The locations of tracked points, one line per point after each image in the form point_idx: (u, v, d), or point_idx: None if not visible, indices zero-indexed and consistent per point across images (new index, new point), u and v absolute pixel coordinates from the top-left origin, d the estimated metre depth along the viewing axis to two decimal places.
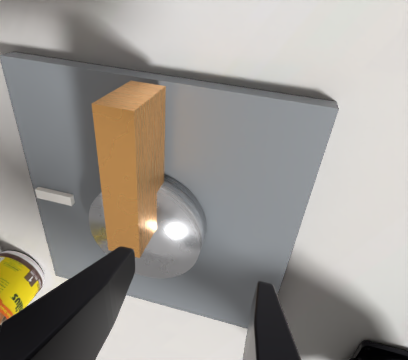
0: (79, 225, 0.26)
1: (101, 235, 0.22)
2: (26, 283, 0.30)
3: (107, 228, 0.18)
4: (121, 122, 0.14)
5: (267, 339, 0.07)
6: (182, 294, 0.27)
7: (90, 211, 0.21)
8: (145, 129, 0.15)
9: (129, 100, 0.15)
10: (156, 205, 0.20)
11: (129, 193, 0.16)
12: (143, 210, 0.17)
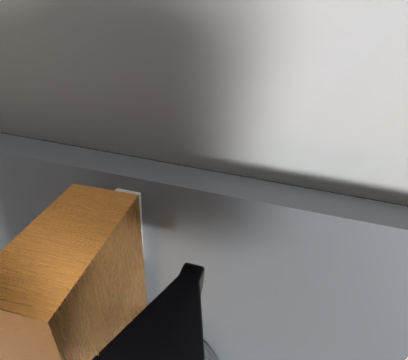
0: None
1: None
2: None
3: None
4: (24, 335, 0.06)
5: (175, 313, 0.07)
6: None
7: None
8: (94, 311, 0.07)
9: (50, 265, 0.07)
10: None
11: None
12: None
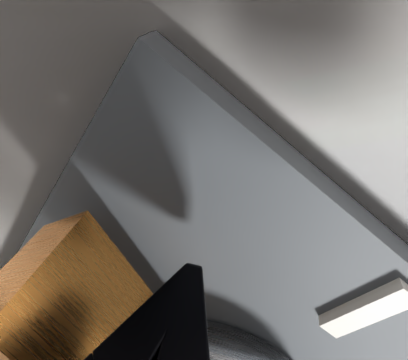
0: None
1: None
2: None
3: None
4: None
5: (179, 315, 0.07)
6: None
7: None
8: (61, 322, 0.08)
9: (0, 293, 0.07)
10: None
11: None
12: None
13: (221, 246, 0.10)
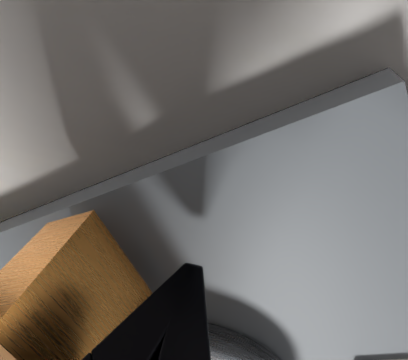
0: None
1: None
2: None
3: None
4: None
5: (180, 315, 0.07)
6: None
7: None
8: (65, 322, 0.08)
9: (6, 291, 0.07)
10: None
11: None
12: None
13: (314, 283, 0.10)
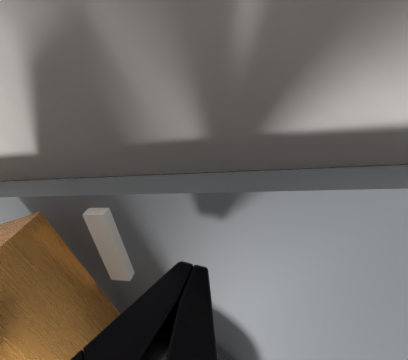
0: None
1: None
2: None
3: None
4: None
5: (186, 317, 0.07)
6: None
7: None
8: (2, 314, 0.08)
9: None
10: None
11: None
12: None
13: (303, 320, 0.11)
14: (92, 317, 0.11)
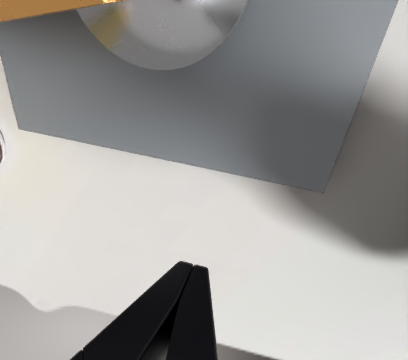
0: None
1: (185, 47, 0.14)
2: None
3: (60, 7, 0.12)
4: None
5: (186, 317, 0.07)
6: (204, 134, 0.18)
7: (147, 66, 0.15)
8: None
9: None
10: None
11: None
12: None
13: None
14: None
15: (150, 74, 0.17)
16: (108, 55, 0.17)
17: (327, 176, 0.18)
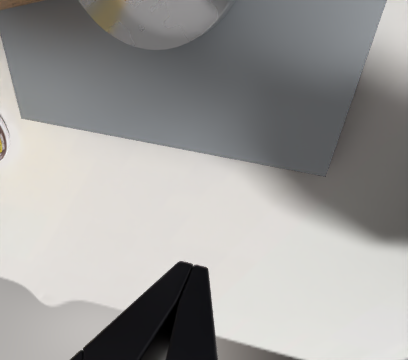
0: None
1: (181, 25, 0.14)
2: None
3: None
4: None
5: (186, 317, 0.07)
6: (203, 118, 0.18)
7: (143, 46, 0.15)
8: None
9: None
10: None
11: None
12: None
13: None
14: None
15: (148, 58, 0.17)
16: (107, 40, 0.17)
17: (329, 159, 0.18)
